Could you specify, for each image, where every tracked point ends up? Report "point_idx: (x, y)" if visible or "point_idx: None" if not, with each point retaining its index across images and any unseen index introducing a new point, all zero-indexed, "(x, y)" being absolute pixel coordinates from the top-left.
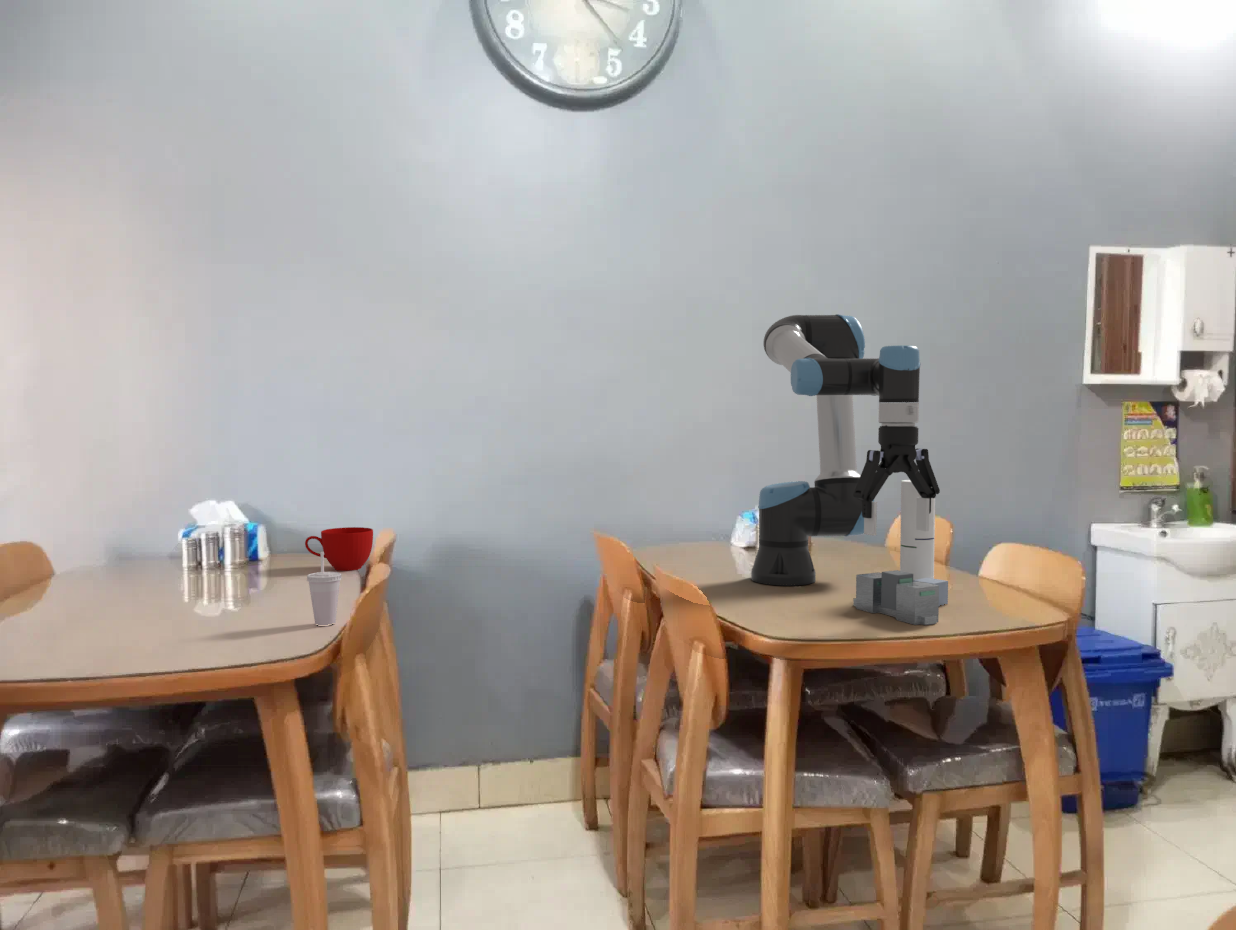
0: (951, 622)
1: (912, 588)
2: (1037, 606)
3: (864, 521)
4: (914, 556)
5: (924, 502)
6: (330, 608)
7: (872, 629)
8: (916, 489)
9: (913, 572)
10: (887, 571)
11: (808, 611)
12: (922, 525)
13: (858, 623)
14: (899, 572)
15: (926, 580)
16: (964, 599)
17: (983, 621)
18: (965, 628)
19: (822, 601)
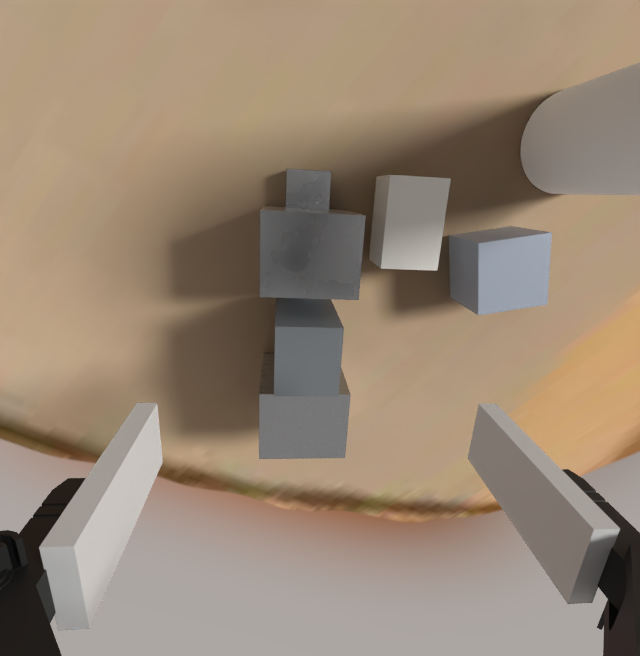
0: (351, 422)
1: (259, 447)
2: (633, 400)
3: (110, 445)
4: (618, 164)
5: (553, 564)
6: None
7: (147, 394)
8: (631, 597)
9: (572, 165)
10: (296, 331)
11: (113, 159)
12: (482, 453)
13: (155, 338)
14: (317, 362)
15: (506, 267)
16: (592, 268)
17: (414, 443)
18: (332, 467)
19: (244, 61)
